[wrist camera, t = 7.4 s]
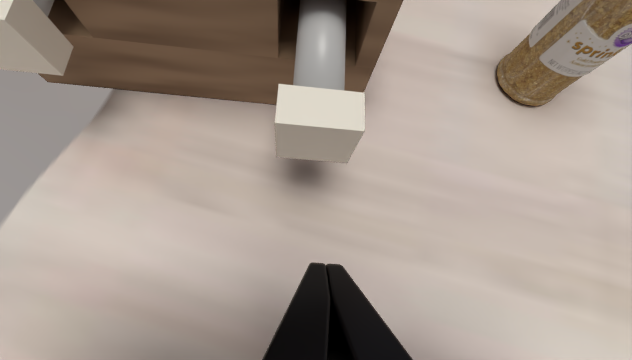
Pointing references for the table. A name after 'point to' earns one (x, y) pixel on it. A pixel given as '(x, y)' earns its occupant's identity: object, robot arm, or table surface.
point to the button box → (206, 45)
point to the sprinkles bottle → (565, 48)
